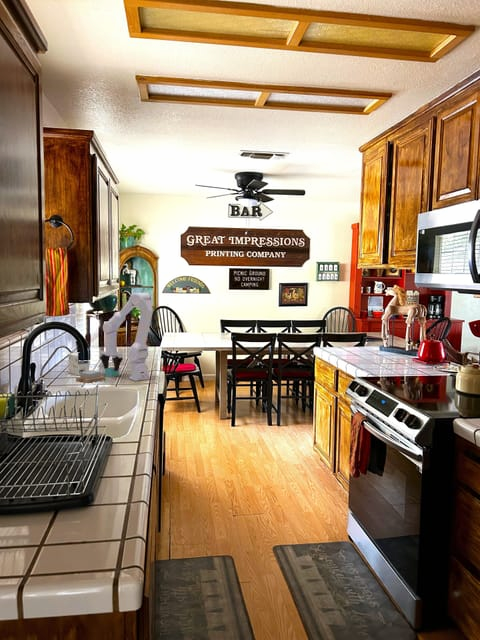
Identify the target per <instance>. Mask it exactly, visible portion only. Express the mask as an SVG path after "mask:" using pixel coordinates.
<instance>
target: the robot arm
mask: <svg viewBox="0 0 480 640" xmlns="http://www.w3.org/2000/svg"><path fill="white" fill-rule="evenodd" d="M153 299H154V298H153V297H152V295H151V293H149V292H133V293H132V294H131V295H130V296H128V301H127V302H126V303H125V305H124V306H123V307H122V309H120V311H117V312H114V313H113V316H112V317H111V318H109V319H108V321H105V322H103V325H102V330H103V332H104V333H105V335H104V337H105V340H104V341H105V342H104V344H105V347H104V348H105V351H99V353H100V354H99V356H100V357H99V359H100V361H101V363H102V366H103V369H104V370H105V368H110V365H109V364H110V359H112V361H113V367H114V370H115V371H118V370H120V366H121V363H122V362H123V359H124V357H123V353H120V352H118V351H117V350H118V349H117V346H118V345H117V344H118V343H117V342H118V341H117V340H118V339H117V336H118V331H119V329H120V326H121V325H122V324H123V323H124V321H126V316H127V315H128V314H129V313H130V312H131V311H132V310H133V309H134V308H136V309H137V310H138V311H139V312H140V316H139V317H140V318H139V321H138V326H137V330H136V335H135V339H134V342H133V344H132V345H131V346H130V349H129V350H128V352H127V358H128V360H129V362H130V372H131V376H128V379H130V380H132V381H134V382H137V381H145V380H146V381H147V380H150V379H151V377H149V368H148V367H149V366H148V365H147V363H146V361H147V358H148V356H149V350H148V349H149V345H147V340H148V335H149V331H150V327H151V326H150V325H151V321H152V318H153V312H154V311H153V310H154V308H153ZM111 357H113V358H111Z"/></svg>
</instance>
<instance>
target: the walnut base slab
mask: <svg viewBox="0 0 480 640" xmlns="http://www.w3.org/2000/svg"><path fill="white" fill-rule="evenodd" d="M102 380H104V381H106V376H105V375H101V377H97V378H93V379H86V378H80V376H78V377H75V382H78V383H82V384H83V383H84V384H89V383H91V384H94V383H93V382H95V383H98V382H97V381H99V382H103V381H102Z"/></svg>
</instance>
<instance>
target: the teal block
mask: <svg viewBox="0 0 480 640" xmlns="http://www.w3.org/2000/svg"><path fill="white" fill-rule="evenodd" d="M119 370H120V369H119ZM119 370H118V371H115V370H114V366H109V368H105V369H104V376H105V377H110V378H112V377H116V376H119Z"/></svg>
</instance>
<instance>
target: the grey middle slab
mask: <svg viewBox="0 0 480 640" xmlns="http://www.w3.org/2000/svg"><path fill="white" fill-rule="evenodd" d="M101 376H102V371H98V370H91V369H89V371H85V372H80V375H79V377H80V378H86V379H93V378H97V377H101Z"/></svg>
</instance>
